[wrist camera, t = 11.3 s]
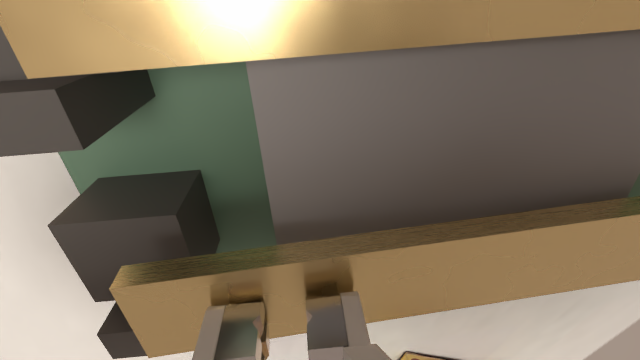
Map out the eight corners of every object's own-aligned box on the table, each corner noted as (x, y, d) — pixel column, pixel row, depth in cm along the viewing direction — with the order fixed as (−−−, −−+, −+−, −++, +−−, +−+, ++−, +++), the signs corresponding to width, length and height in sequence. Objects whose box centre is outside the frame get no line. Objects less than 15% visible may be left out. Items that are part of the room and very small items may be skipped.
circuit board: (922, -229, 9) (1665, -489, 4) (659, 215, 17) (807, 306, 12) (-64, -170, 9) (-559, -389, 4) (139, 260, 17) (72, 376, 12)
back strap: (822, 165, 11) (890, 186, 10) (764, 233, 12) (817, 259, 11) (125, 258, 9) (103, 298, 8) (159, 325, 11) (145, 368, 9)
